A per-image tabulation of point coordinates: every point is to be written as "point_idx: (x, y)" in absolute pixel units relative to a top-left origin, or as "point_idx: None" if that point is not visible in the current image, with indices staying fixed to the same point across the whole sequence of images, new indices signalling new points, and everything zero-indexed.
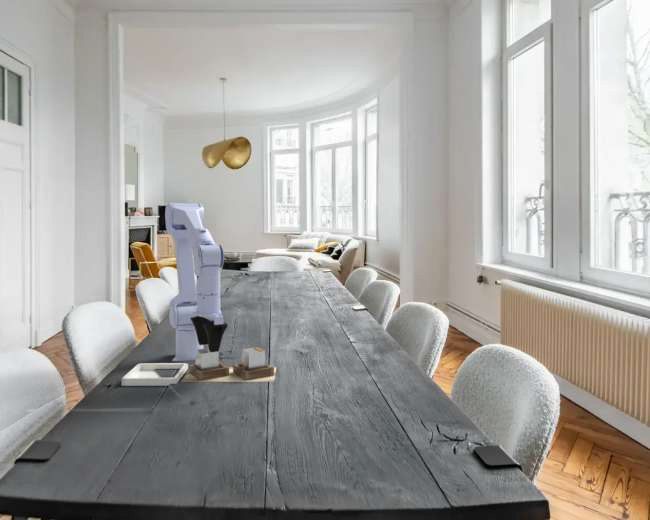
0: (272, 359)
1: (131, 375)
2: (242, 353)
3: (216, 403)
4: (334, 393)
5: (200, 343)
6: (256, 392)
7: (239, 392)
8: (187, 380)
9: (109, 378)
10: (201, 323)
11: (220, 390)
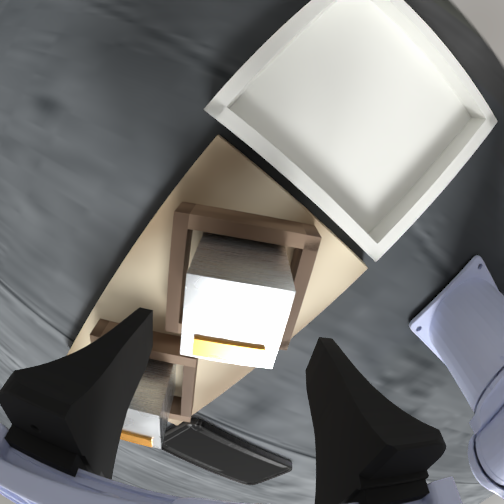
0: (270, 448)
1: (408, 26)
2: (153, 403)
3: (15, 164)
4: (7, 377)
5: (320, 346)
6: (41, 292)
7: (55, 260)
8: (215, 165)
9: (466, 19)
10: (344, 453)
11: (92, 226)
